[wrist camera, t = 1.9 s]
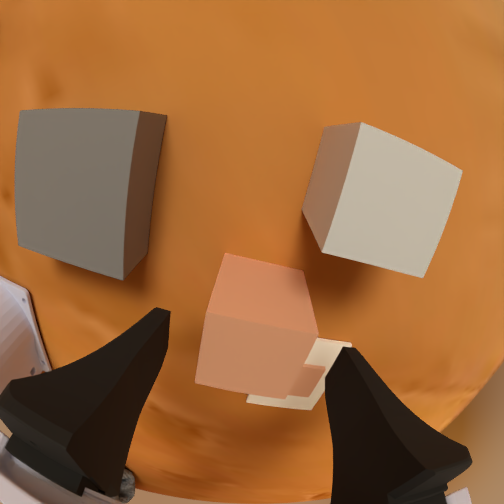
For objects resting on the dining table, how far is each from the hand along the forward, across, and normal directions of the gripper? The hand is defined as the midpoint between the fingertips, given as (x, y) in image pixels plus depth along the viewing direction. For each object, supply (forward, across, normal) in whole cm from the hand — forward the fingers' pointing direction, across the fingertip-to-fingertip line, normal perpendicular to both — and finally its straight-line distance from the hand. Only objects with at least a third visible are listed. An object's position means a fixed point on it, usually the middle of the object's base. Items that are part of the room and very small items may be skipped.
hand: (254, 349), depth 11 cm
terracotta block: (+4, 0, 0) cm, 4 cm away
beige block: (+4, -3, -7) cm, 9 cm away
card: (+4, -4, +6) cm, 8 cm away
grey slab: (+4, +10, -4) cm, 11 cm away
